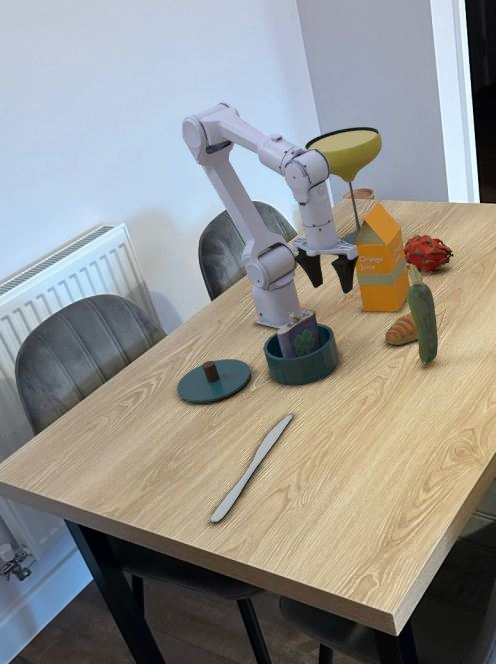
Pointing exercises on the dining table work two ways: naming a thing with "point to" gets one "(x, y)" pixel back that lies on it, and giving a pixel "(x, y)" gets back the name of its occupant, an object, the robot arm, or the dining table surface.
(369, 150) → the cocktail glass
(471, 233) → the dining table surface
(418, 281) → the vegetable
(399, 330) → the pastry
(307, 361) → the pan
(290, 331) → the flask
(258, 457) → the butter knife
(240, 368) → the lid
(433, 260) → the dragon fruit
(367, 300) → the orange juice
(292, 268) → the robot arm
